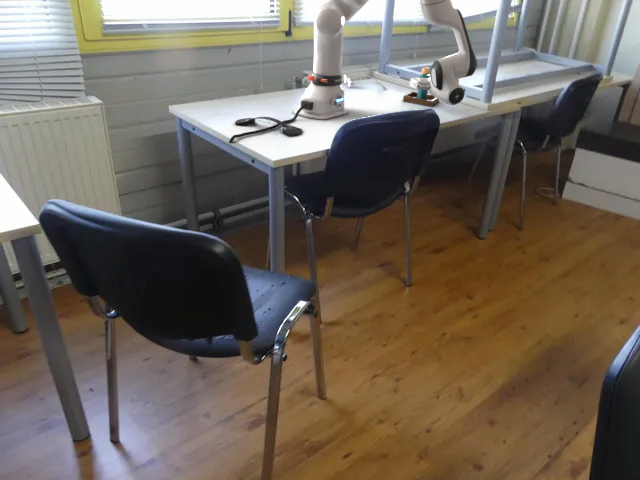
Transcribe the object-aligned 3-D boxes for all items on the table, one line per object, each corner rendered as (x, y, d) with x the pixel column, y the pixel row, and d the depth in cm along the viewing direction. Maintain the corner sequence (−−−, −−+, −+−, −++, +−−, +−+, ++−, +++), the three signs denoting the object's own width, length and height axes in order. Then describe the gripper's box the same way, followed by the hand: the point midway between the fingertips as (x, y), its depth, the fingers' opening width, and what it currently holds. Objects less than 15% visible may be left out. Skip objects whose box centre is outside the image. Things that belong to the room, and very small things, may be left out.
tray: (431, 106, 240) (432, 101, 239) (402, 101, 244) (403, 95, 243) (439, 101, 249) (439, 96, 248) (411, 96, 253) (412, 91, 252)
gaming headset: (293, 137, 186) (293, 127, 184) (231, 124, 193) (230, 114, 192) (305, 131, 193) (306, 122, 192) (245, 118, 201) (245, 109, 199)
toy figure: (424, 101, 244) (429, 68, 237) (415, 100, 245) (419, 66, 238) (427, 100, 247) (432, 66, 240) (418, 98, 249) (423, 65, 242)
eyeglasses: (342, 81, 269) (343, 73, 267) (377, 82, 273) (378, 74, 271) (349, 89, 256) (350, 80, 254) (386, 90, 261) (387, 81, 259)
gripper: (416, 94, 227) (403, 86, 238) (459, 94, 234) (445, 87, 245) (418, 78, 224) (405, 71, 235) (462, 79, 231) (447, 72, 242)
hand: (426, 79), depth 240 cm, fingers open, 8 cm apart
